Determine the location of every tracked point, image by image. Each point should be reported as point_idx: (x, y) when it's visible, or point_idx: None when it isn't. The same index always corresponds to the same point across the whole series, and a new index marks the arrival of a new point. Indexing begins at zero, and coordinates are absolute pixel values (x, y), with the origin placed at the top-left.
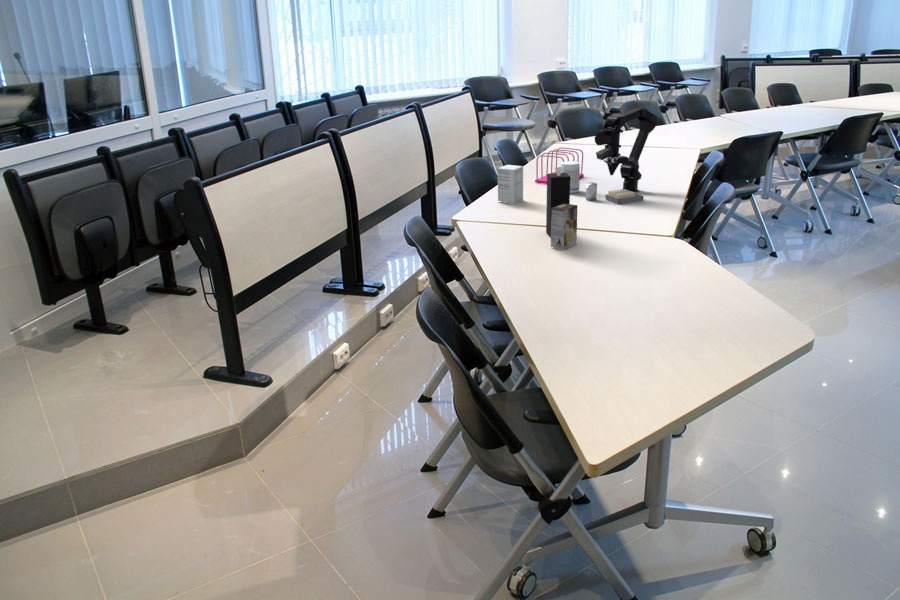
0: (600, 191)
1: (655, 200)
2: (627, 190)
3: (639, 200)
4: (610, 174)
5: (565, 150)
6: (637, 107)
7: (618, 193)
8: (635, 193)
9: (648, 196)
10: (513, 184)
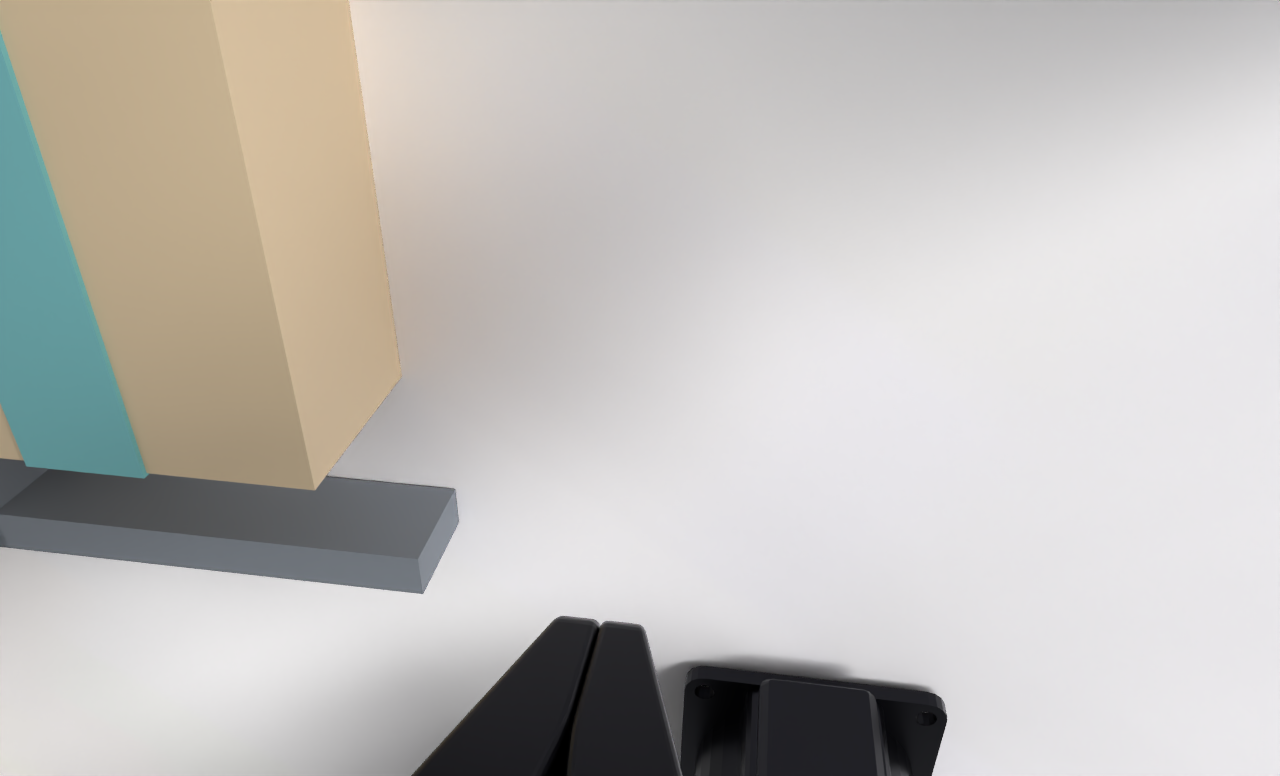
0: (1228, 333)
1: (45, 625)
2: (124, 447)
3: None
4: (596, 637)
5: None
6: None
7: None
8: (190, 551)
9: (320, 706)
10: None
